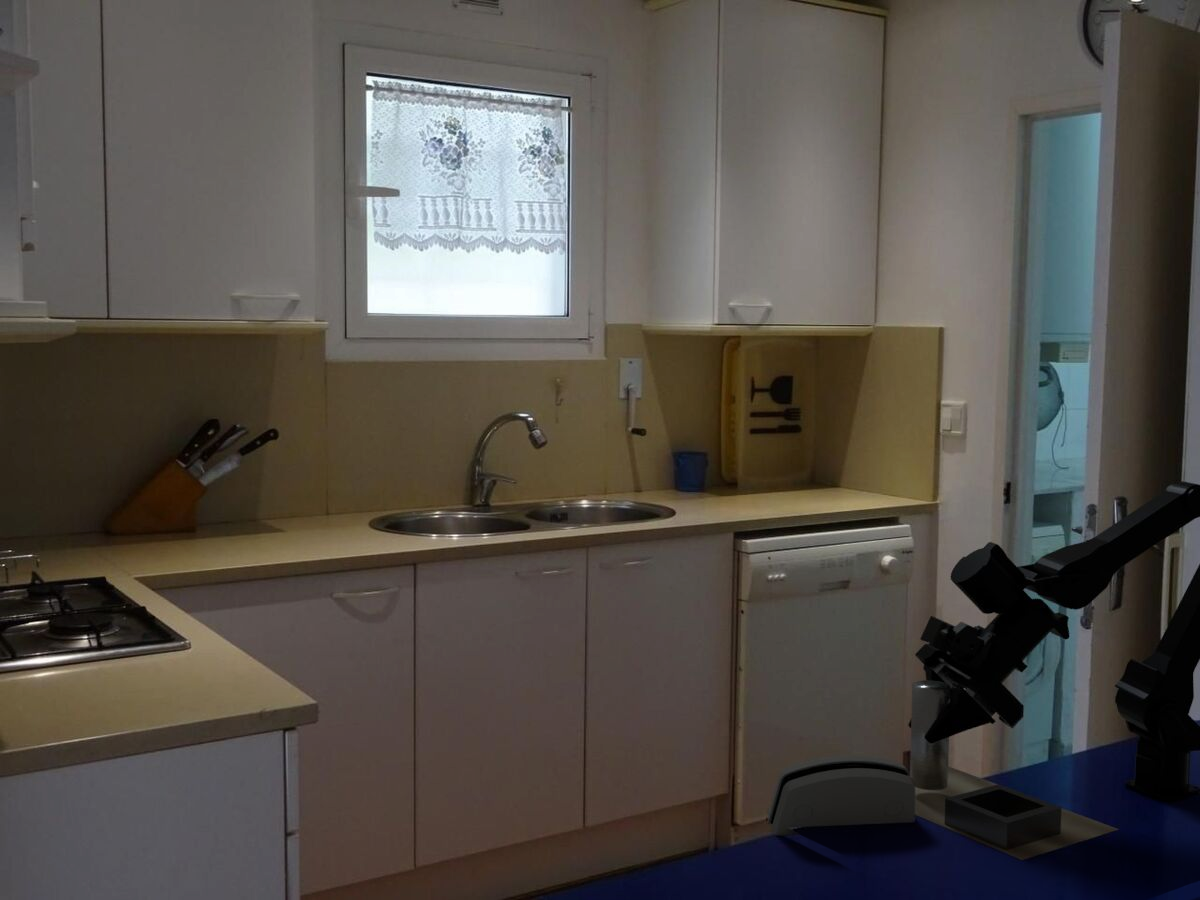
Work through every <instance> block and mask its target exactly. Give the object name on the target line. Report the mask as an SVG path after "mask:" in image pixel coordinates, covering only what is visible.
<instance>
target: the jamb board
mask: <svg viewBox="0 0 1200 900" xmlns="http://www.w3.org/2000/svg"><path fill="white" fill-rule="evenodd" d="M978 780H979V781H978ZM994 785H998V783H994V782H992V781H989V780H987V779H983V778H981V777H979V776H976V775H972V774H970V773H967V772H965V771H963V770H959V769H957V768H955V767H952V766H949V765H948V787H947V788H945V789H941V790H925V789H920V788H917V787H915V816H917V817H920V818H922V819H924V820H926V821H929V822H931V823H934V824H936V825H938V826H941V827H943V828H945V829H947V830H950V831H951V832H954V833H957V834H959V835H962V836H964V837H967V838H969V839H972V840H974V841H976V842H978V843H981V844H983V845H985V846H988V847H990V848H993V849H994V850H998V851H1000V852H1002V853H1004V854H1007V855H1010V856H1011V857H1014V858H1016V859H1019V860H1021V861H1024V860H1027V859H1030V858H1033V857H1036V856H1039V855H1043V854H1046V853H1049V852H1052V851H1056V850H1058V849H1061V848H1065V847H1068V846H1071V845H1075V844H1078V843H1081V842H1085V841H1087V840H1091V839H1093V838H1097V837H1100V836H1103V835H1107V834H1110V833H1113V832H1116V831H1119V830H1120V829H1119V828H1116V827H1113V826H1111V825H1108V824H1107V823H1106V824H1105V823H1103V822H1100V821H1097V820H1094V819H1091V818H1089V817H1088V816H1087V817H1086V816H1084V815H1081V814H1078V813H1075V812H1073V811H1070V810H1068V809H1065V808H1062V809H1061V834H1058V835H1055V836H1051V837H1048V838H1045V839H1042V840H1038V841H1035V842H1032V843H1028V844H1025V845H1022V846H1019V847H1015V848H1012V849H1009V850H1005V849H1002V848H1000V847H998V846H995V845H993V844H990V843H988V842H986V841H983V840H981V839H979V838H976V837H974V836H971V835H969V834H967V833H964V832H962V831H959V830H957V829H955V828H952V827H950V826H947V825H945V798H949V797H952V796H956V795H960V794H964V793H967V792H971V791H975V790H979V789H982V788H986V787H990V786H994ZM1001 816H1002V815H1001Z"/></svg>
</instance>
